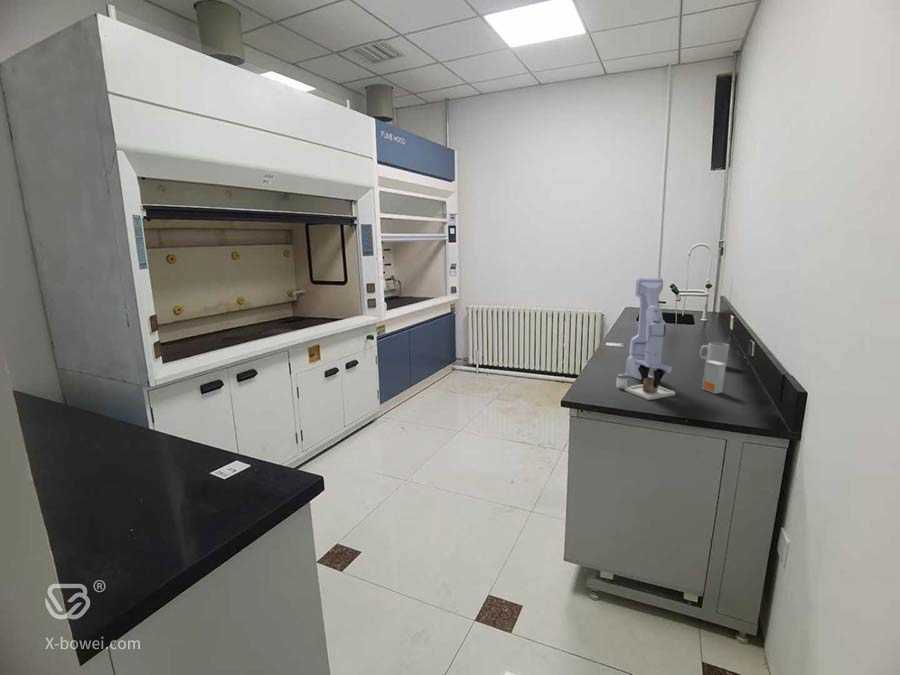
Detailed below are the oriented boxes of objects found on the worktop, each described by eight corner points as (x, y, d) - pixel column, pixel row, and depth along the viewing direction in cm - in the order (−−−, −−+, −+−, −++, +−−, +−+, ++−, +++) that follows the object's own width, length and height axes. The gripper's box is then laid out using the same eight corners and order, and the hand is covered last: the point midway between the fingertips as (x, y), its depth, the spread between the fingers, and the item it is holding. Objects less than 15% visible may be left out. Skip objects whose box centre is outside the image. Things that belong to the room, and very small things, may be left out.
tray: (624, 390, 180) (625, 387, 180) (650, 386, 185) (651, 383, 185) (648, 400, 169) (648, 396, 169) (675, 395, 174) (675, 391, 174)
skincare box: (701, 389, 181) (705, 360, 179) (709, 388, 183) (712, 359, 180) (714, 394, 176) (718, 364, 173) (722, 392, 177) (726, 363, 175)
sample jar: (613, 386, 185) (614, 374, 184) (621, 384, 187) (622, 373, 186) (621, 389, 181) (622, 377, 180) (629, 387, 183) (630, 375, 182)
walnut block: (642, 390, 177) (643, 378, 176) (647, 388, 180) (649, 376, 179) (652, 393, 174) (653, 380, 173) (657, 391, 177) (658, 379, 176)
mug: (728, 366, 214) (731, 343, 212) (723, 369, 208) (726, 346, 206) (700, 361, 222) (703, 340, 220) (695, 364, 216) (698, 342, 214)
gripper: (630, 350, 177) (627, 383, 180) (666, 358, 165) (663, 392, 168) (640, 347, 181) (637, 379, 184) (676, 355, 170) (672, 388, 173)
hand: (650, 385), depth 176 cm, fingers closed on walnut block, 4 cm apart
